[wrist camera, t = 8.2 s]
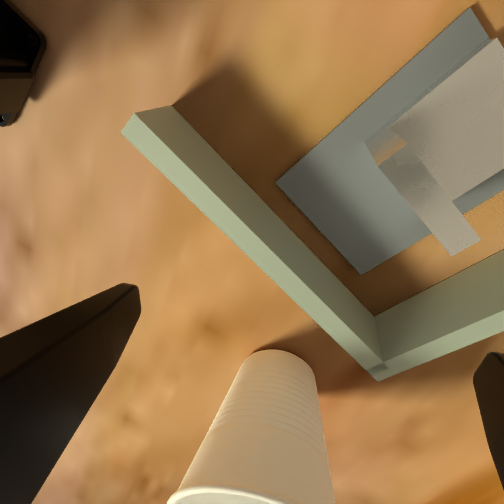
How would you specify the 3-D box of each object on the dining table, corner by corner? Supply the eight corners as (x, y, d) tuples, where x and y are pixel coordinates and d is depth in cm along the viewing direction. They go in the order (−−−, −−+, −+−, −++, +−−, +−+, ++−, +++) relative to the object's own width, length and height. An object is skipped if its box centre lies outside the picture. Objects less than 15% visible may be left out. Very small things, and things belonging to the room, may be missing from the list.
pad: (275, 181, 18) (275, 182, 18) (467, 8, 13) (470, 6, 13) (360, 272, 20) (361, 275, 20) (558, 152, 15) (562, 154, 15)
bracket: (419, 211, 17) (451, 256, 13) (363, 141, 16) (377, 166, 12) (543, 130, 14) (636, 154, 10) (485, 39, 13) (562, 23, 9)
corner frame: (159, 121, 18) (120, 133, 15) (432, -248, 10) (485, -407, 7) (369, 334, 22) (377, 381, 19) (669, 187, 15) (773, 222, 11)
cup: (341, 331, 23) (352, 512, 13) (338, 417, 27) (345, 595, 18) (211, 324, 25) (143, 474, 16) (229, 404, 30) (185, 557, 20)
